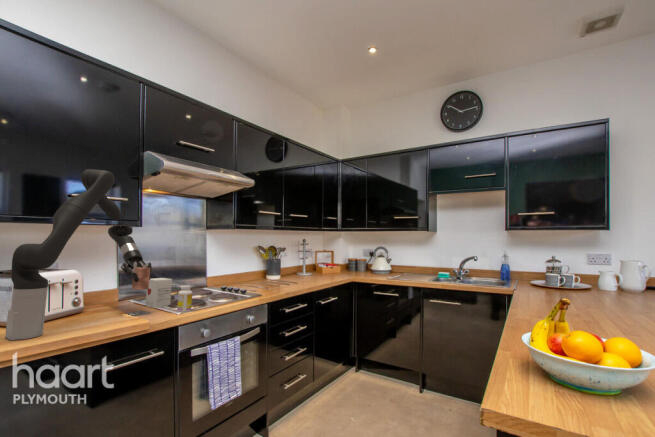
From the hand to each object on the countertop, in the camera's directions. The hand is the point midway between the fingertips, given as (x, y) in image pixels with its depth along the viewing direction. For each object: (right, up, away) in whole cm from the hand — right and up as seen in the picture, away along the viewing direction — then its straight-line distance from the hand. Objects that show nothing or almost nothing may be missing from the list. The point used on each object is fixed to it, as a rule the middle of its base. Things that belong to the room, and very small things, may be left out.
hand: (143, 280), depth 149 cm
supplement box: (-5, -19, +22) cm, 29 cm away
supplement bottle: (+14, -18, +12) cm, 26 cm away
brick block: (-2, -4, 0) cm, 5 cm away
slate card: (-5, -17, +1) cm, 18 cm away
